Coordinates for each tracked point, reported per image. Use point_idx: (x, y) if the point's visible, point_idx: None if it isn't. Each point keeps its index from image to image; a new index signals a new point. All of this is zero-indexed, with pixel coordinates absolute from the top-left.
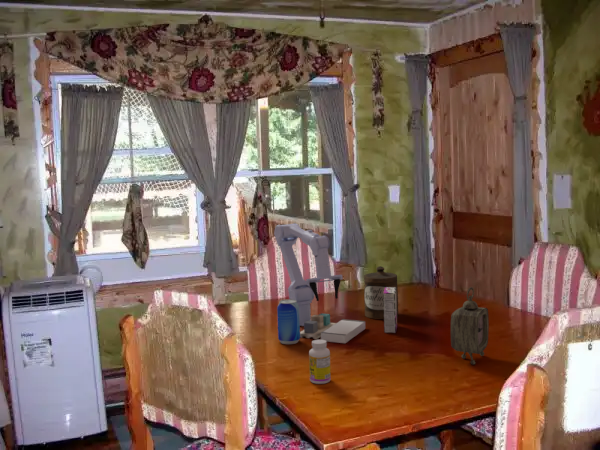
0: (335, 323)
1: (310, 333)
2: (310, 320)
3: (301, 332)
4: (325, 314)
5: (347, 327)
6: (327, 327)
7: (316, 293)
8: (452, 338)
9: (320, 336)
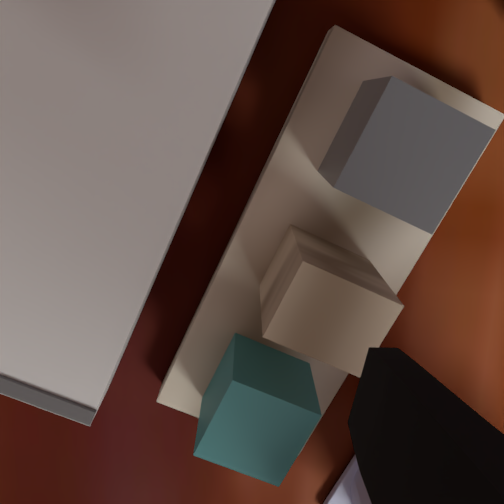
0: (158, 398)
1: None
2: (357, 488)
3: None
4: (237, 445)
5: (19, 155)
6: (225, 281)
7: (474, 458)
8: None
9: (291, 109)
